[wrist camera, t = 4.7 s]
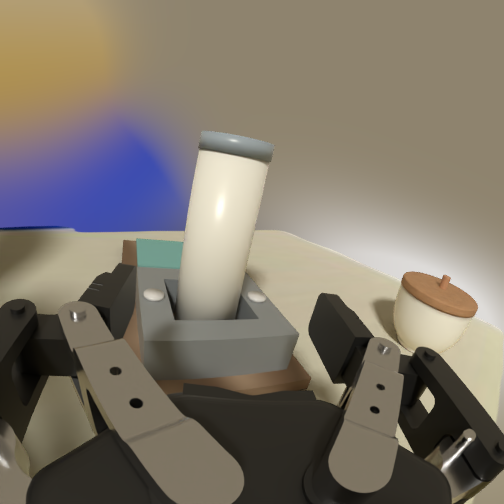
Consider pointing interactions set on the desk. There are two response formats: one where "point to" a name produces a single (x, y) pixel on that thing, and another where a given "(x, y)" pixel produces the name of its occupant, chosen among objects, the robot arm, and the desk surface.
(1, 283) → the desk surface
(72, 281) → the desk surface
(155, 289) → the grey square socket
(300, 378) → the base board
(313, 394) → the robot arm
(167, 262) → the mat
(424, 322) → the lidded jar
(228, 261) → the capped cream cylinder
